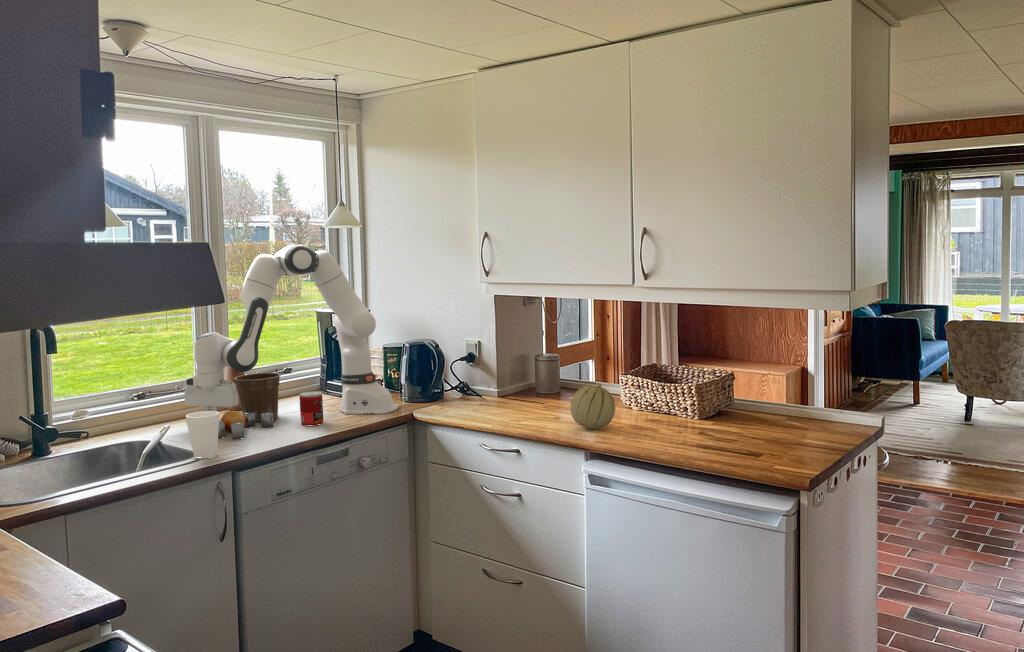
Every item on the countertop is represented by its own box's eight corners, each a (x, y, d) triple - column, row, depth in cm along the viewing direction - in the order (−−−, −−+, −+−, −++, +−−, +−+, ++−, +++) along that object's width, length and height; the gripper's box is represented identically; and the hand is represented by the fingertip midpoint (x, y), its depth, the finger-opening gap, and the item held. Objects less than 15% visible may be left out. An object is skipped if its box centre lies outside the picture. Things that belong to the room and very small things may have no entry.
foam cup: (182, 460, 233) (179, 417, 232) (199, 452, 242) (196, 410, 241) (211, 460, 231) (209, 417, 230) (227, 452, 241) (225, 411, 239)
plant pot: (227, 422, 285) (224, 378, 283) (260, 413, 299) (257, 371, 297) (260, 425, 277) (257, 380, 275) (292, 416, 291) (290, 373, 290)
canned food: (318, 426, 273) (316, 395, 272) (296, 426, 275) (295, 395, 274) (327, 421, 281) (325, 391, 279) (306, 421, 282) (305, 391, 281)
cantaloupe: (561, 429, 259) (560, 384, 258) (592, 421, 268) (591, 378, 267) (593, 436, 248) (593, 389, 246) (625, 428, 257) (624, 383, 256)
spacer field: (275, 426, 275) (275, 412, 275) (239, 439, 257) (238, 425, 256) (235, 424, 281) (234, 410, 280) (196, 437, 262) (195, 422, 261)
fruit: (234, 423, 276) (239, 405, 272) (246, 437, 272) (251, 419, 269) (213, 427, 270) (218, 409, 266) (224, 441, 266) (230, 423, 262)
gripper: (241, 378, 270) (244, 418, 271) (192, 377, 276) (195, 415, 278) (229, 382, 264) (232, 422, 265) (180, 380, 270) (183, 419, 272)
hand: (213, 418), depth 271 cm, fingers closed
